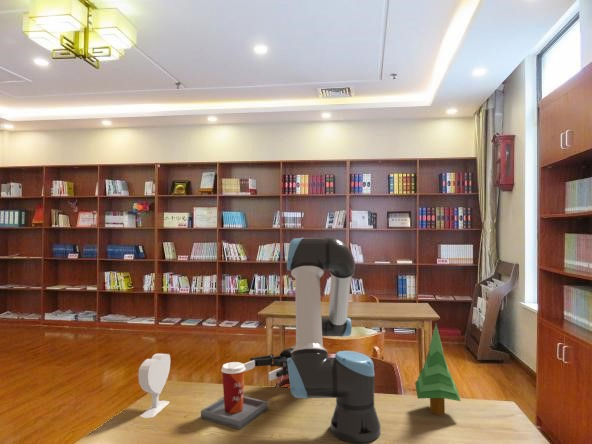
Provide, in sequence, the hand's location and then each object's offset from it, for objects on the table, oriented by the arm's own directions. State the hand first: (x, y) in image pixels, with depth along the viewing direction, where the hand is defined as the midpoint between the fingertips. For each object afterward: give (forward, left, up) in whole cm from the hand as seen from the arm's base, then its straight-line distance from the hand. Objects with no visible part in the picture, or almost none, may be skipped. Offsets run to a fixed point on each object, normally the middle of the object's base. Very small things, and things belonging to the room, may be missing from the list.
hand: (255, 372), depth 144 cm
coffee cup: (+3, +9, -10) cm, 14 cm away
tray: (+2, +9, -11) cm, 15 cm away
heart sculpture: (+29, +19, -11) cm, 36 cm away
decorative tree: (-58, -24, -11) cm, 64 cm away
